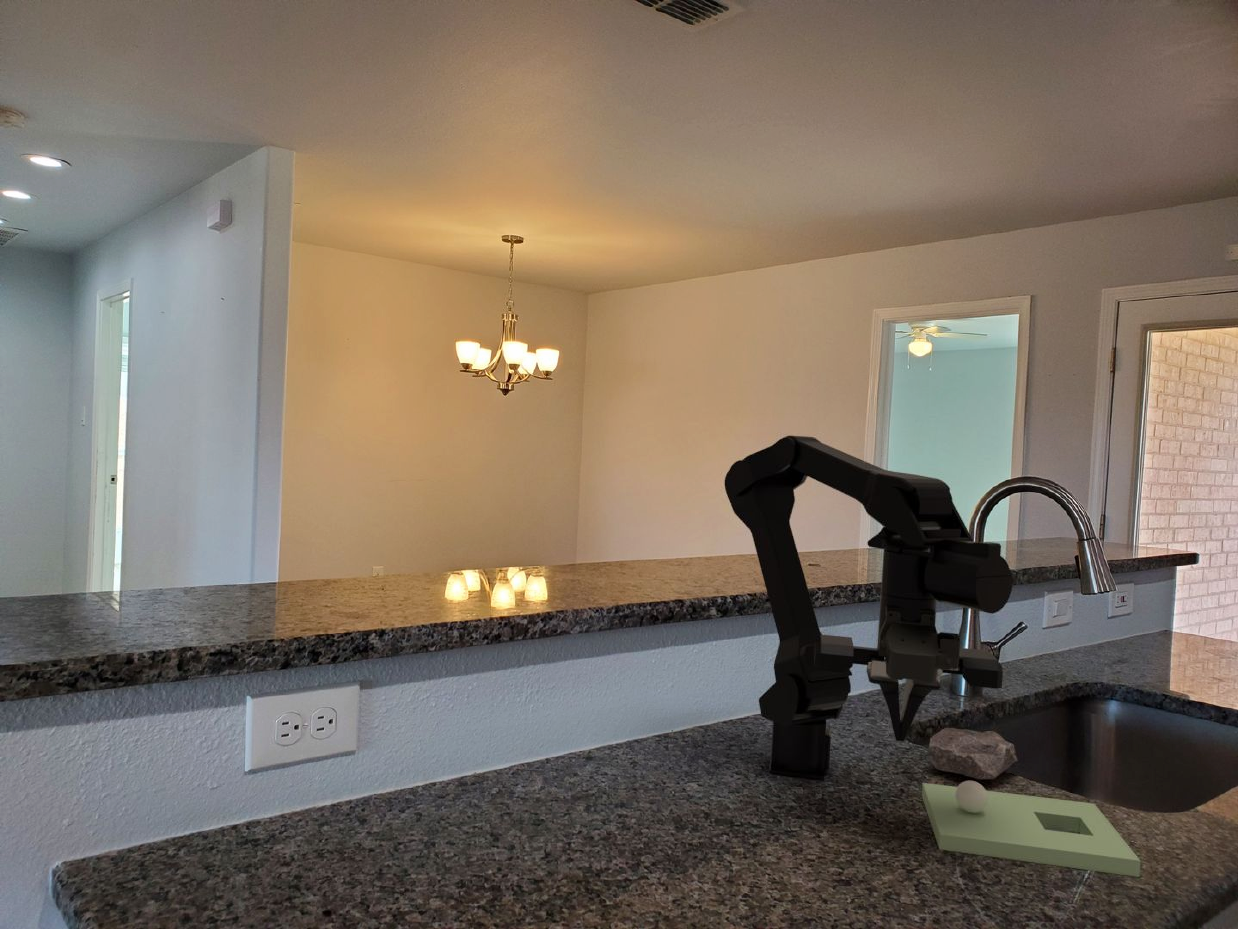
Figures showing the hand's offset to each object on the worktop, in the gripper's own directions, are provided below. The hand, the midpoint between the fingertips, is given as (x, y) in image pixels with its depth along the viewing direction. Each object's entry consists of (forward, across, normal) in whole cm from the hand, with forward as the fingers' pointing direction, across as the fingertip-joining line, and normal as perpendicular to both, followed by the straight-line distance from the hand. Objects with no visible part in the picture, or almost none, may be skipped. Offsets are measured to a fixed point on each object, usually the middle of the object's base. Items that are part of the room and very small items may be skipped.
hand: (899, 740), depth 96 cm
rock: (+10, +14, +19) cm, 26 cm away
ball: (+5, +8, 0) cm, 9 cm away
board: (+8, +13, 0) cm, 15 cm away
